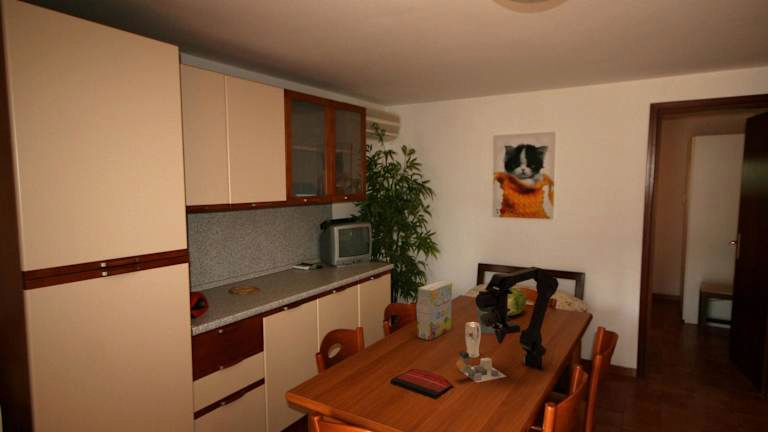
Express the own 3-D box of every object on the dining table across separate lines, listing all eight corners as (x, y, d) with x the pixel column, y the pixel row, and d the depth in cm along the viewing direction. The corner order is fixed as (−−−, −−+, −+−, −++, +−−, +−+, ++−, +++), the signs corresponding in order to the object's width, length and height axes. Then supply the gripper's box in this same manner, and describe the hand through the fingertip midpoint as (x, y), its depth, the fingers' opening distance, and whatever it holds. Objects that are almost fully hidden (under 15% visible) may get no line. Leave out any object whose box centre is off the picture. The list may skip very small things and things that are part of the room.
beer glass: (469, 360, 191) (469, 327, 190) (462, 354, 198) (462, 322, 197) (483, 358, 193) (483, 325, 192) (476, 353, 200) (476, 321, 199)
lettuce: (488, 319, 250) (488, 292, 248) (505, 308, 271) (505, 283, 270) (514, 323, 241) (514, 296, 240) (529, 312, 262) (530, 286, 261)
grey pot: (495, 328, 233) (495, 306, 232) (498, 335, 223) (498, 312, 222) (476, 328, 234) (476, 306, 233) (478, 334, 224) (478, 311, 223)
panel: (486, 365, 186) (486, 357, 186) (506, 378, 173) (506, 370, 173) (457, 370, 181) (457, 362, 181) (476, 385, 168) (476, 375, 168)
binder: (436, 394, 157) (390, 378, 170) (436, 400, 157) (390, 384, 170) (457, 380, 170) (413, 366, 183) (457, 386, 170) (413, 372, 183)
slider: (488, 366, 182) (488, 357, 182) (491, 369, 180) (491, 359, 180) (480, 368, 181) (480, 358, 181) (483, 370, 179) (483, 361, 178)
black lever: (464, 366, 181) (464, 350, 181) (468, 369, 178) (468, 353, 178) (459, 366, 181) (459, 351, 180) (463, 370, 177) (463, 354, 177)
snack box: (431, 341, 215) (431, 290, 213) (416, 338, 220) (416, 287, 218) (452, 329, 232) (452, 282, 230) (438, 326, 237) (438, 280, 235)
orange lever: (474, 370, 174) (458, 358, 171) (479, 374, 171) (463, 362, 168) (471, 375, 174) (455, 364, 171) (476, 379, 170) (459, 367, 167)
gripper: (470, 301, 181) (470, 338, 182) (497, 314, 164) (496, 354, 165) (493, 299, 185) (492, 335, 186) (521, 311, 168) (521, 350, 169)
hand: (499, 343), depth 176 cm, fingers closed
